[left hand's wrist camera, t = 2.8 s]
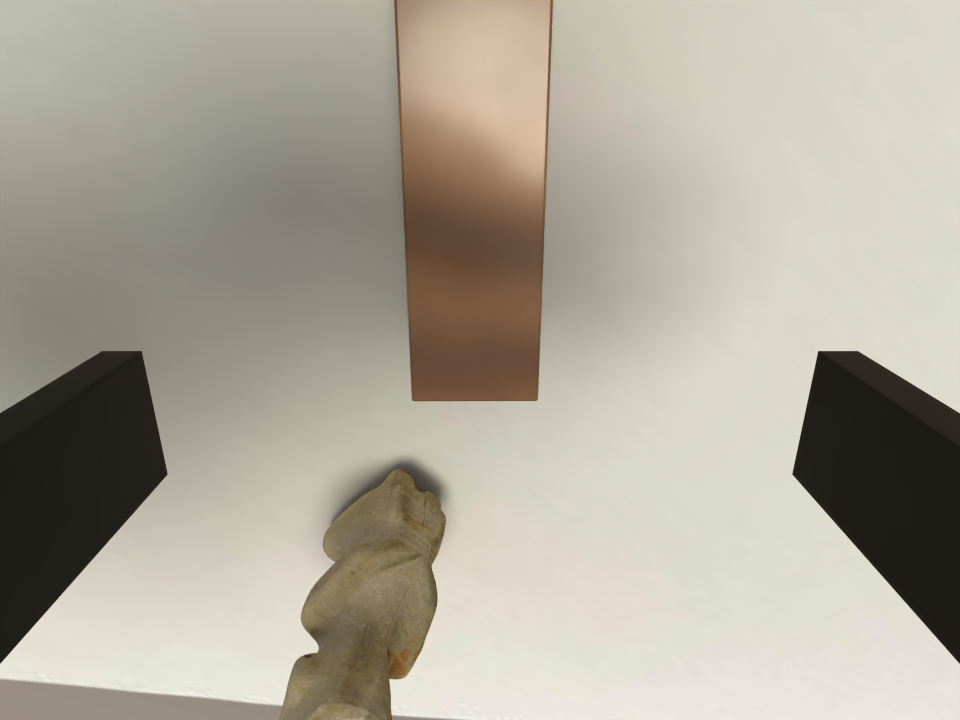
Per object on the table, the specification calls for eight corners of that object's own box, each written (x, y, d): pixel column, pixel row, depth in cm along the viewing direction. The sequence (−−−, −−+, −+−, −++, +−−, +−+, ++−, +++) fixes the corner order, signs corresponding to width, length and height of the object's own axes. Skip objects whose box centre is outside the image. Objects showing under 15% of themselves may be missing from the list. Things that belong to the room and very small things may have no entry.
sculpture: (311, 515, 36) (208, 763, 22) (396, 441, 35) (341, 659, 21) (384, 573, 38) (330, 838, 24) (468, 504, 36) (463, 747, 22)
